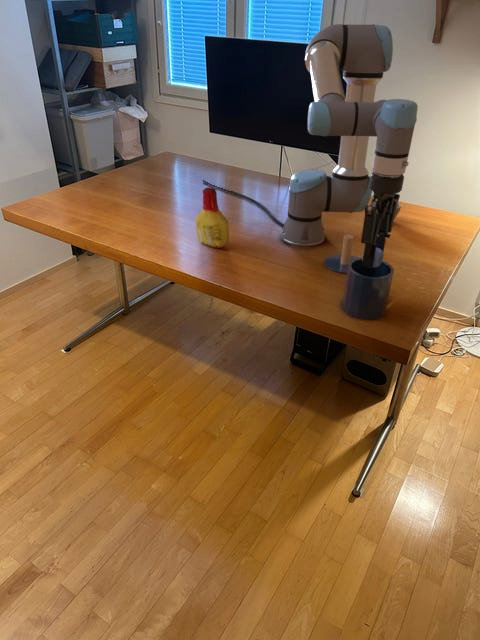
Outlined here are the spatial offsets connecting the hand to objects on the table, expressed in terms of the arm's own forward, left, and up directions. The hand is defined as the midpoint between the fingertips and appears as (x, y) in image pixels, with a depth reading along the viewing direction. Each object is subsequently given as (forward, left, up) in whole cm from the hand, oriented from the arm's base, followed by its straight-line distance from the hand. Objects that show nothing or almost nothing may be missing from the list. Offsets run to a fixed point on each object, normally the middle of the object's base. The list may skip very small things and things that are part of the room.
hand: (371, 263), depth 124 cm
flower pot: (-25, +60, -14) cm, 66 cm away
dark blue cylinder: (0, 0, -14) cm, 14 cm away
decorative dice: (0, 0, 0) cm, 0 cm away
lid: (-17, +18, -13) cm, 28 cm away
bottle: (-59, +1, -14) cm, 61 cm away
